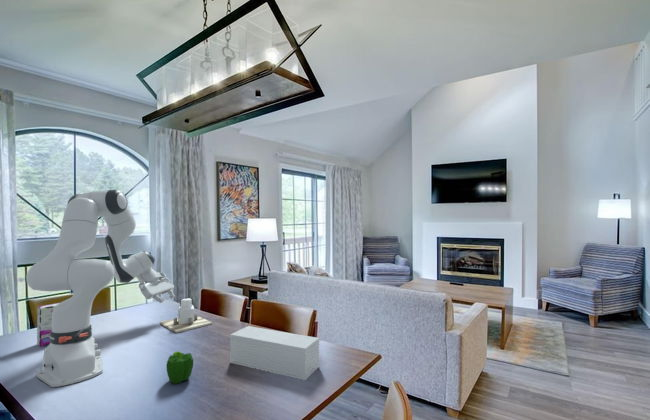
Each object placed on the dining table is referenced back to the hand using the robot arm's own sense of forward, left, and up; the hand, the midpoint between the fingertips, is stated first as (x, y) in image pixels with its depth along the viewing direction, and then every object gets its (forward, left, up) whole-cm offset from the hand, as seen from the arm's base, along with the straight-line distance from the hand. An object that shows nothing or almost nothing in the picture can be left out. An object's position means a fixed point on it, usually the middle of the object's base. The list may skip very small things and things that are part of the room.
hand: (168, 299), depth 168 cm
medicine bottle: (-8, -6, -11) cm, 15 cm away
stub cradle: (-8, -6, -12) cm, 16 cm away
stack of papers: (-78, -8, -13) cm, 80 cm away
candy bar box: (+10, +44, -12) cm, 47 cm away
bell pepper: (-64, +21, -12) cm, 69 cm away
